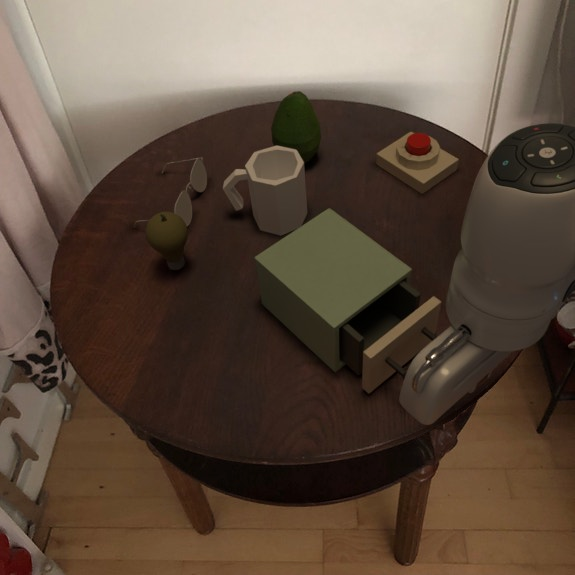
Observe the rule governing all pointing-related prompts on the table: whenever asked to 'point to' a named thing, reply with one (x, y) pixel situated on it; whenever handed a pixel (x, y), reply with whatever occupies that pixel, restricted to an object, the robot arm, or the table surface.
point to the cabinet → (325, 280)
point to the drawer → (388, 334)
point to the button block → (417, 164)
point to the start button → (418, 144)
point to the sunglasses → (197, 182)
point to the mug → (272, 189)
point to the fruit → (297, 126)
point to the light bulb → (168, 237)
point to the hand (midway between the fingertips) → (473, 380)
